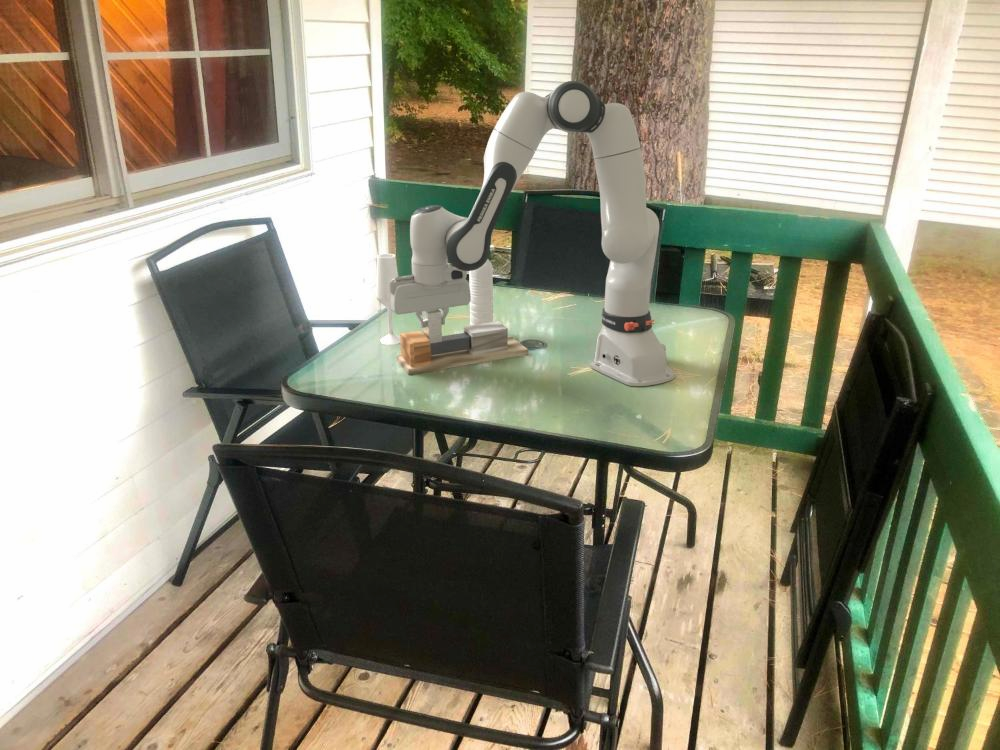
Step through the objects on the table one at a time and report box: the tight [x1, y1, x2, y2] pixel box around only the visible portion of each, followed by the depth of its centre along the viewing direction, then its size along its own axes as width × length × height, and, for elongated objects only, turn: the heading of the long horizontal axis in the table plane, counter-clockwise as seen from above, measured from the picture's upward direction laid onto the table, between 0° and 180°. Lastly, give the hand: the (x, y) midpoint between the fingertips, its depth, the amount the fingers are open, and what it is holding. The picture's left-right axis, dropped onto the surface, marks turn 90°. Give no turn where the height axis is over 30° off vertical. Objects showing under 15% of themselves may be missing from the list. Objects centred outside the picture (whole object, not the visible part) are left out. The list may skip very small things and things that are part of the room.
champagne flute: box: [375, 253, 401, 346], centre depth 209 cm, size 7×7×24 cm
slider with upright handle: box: [422, 309, 471, 355], centre depth 198 cm, size 4×22×11 cm, turn 114°
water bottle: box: [468, 244, 495, 326], centre depth 212 cm, size 9×6×25 cm
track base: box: [396, 321, 529, 375], centre depth 201 cm, size 10×33×8 cm, turn 114°
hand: (432, 325), depth 195 cm, fingers open, 3 cm apart
